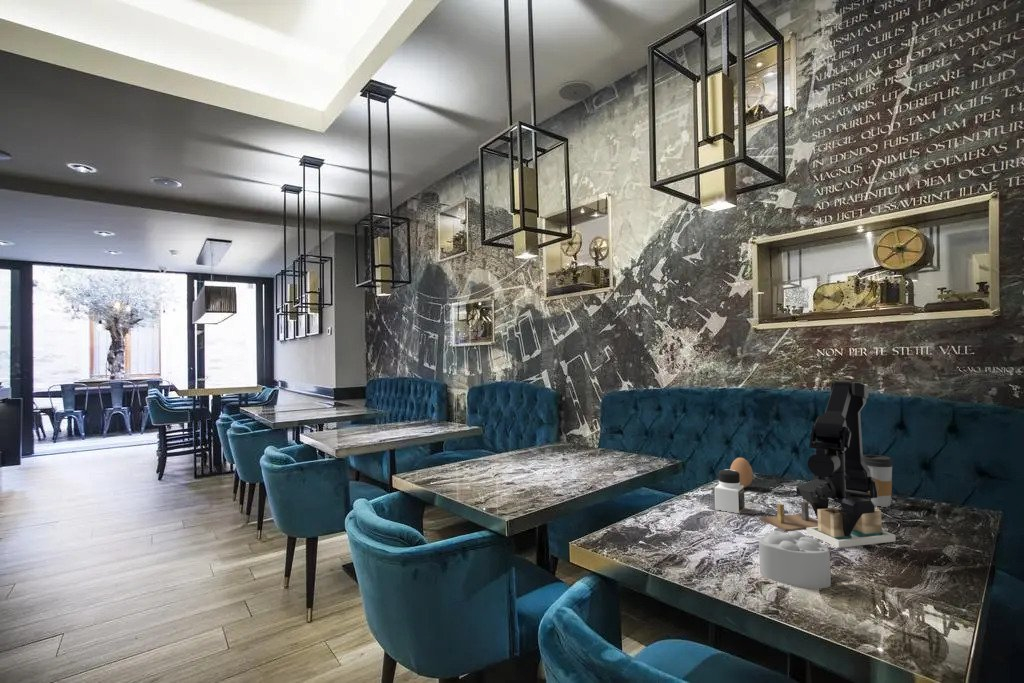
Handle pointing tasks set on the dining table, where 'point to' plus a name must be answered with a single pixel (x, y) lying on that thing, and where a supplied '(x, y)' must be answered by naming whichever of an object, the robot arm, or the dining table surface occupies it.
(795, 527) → the pin board
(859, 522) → the sleeve
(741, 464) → the egg
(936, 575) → the dining table surface
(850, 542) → the feeder tray
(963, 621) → the dining table surface
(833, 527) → the oak sleeve
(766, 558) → the lumpy-topped squat cylinder
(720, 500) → the medicine bottle
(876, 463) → the coffee cup
